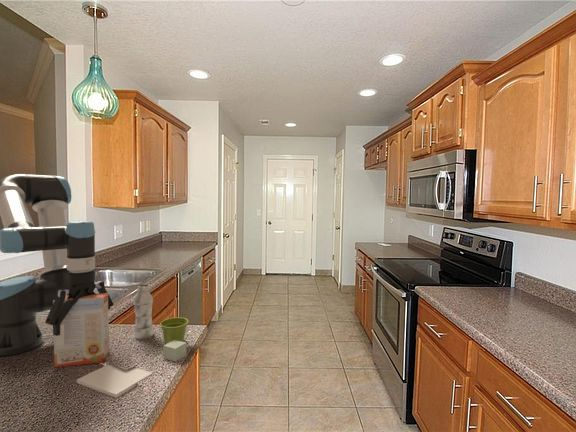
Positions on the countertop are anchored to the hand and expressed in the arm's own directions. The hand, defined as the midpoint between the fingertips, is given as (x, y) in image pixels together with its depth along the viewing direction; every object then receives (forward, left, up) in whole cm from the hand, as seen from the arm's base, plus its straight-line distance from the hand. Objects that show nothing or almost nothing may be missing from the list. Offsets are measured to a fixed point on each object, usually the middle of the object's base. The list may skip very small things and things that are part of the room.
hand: (82, 336), depth 106 cm
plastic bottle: (+4, +20, -8) cm, 22 cm away
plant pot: (+18, +21, -8) cm, 29 cm away
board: (+19, -3, -8) cm, 21 cm away
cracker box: (0, 0, -8) cm, 8 cm away
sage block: (+25, +14, -8) cm, 30 cm away
